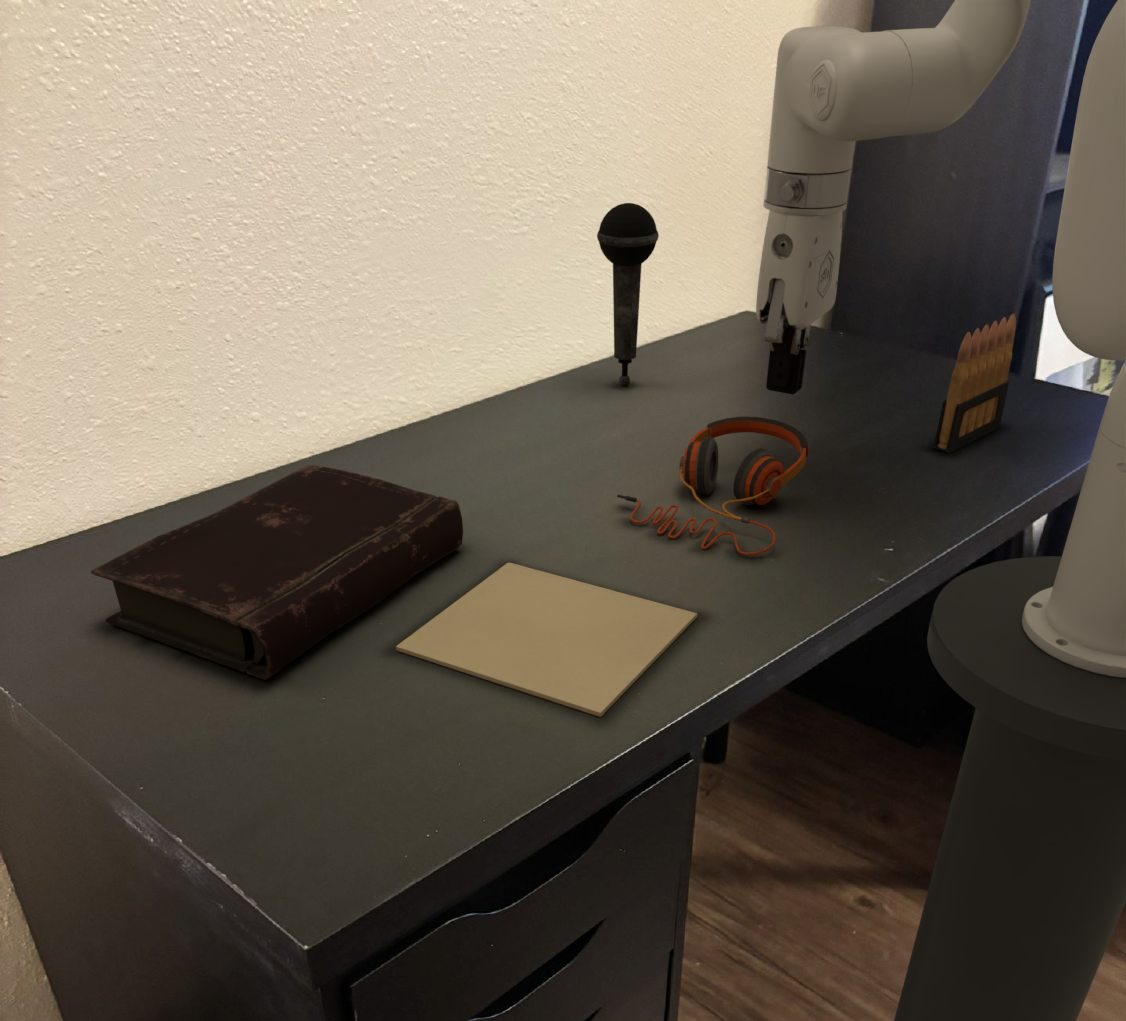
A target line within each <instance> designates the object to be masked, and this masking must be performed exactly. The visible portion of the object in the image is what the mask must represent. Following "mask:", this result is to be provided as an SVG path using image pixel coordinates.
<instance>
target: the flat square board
mask: <svg viewBox="0 0 1126 1021" xmlns="http://www.w3.org/2000/svg"><path fill="white" fill-rule="evenodd" d="M697 618H698V613H697V612H694V611H691V610H686V609H682V608H679V607H676V606H671V605H668V604H665V603H660V602H657V601H653V600H649V599H646V598H642V597H638V596H634V595H631V594H627V593H624V592H620V591H616V590H613V589H609V588H605V587H601V586H597V585H595V584H591V583H587V582H583V581H580V580H575V579H572V578H569V577H564V576H560V575H557V574H554V573H550V572H546V571H542V570H538V569H536V568H531V567H528V566H524V565H520V564H516V563H513V562H506V563H505V564H504V565H502V566H501V567H500V568H499V569H497V570H496V571H495V572H493V573H492V574H490V575H489V576H488V577H486V578H485V579H484V580H483V581H481V582H480V583H478V584H477V585H476V586H474V587H473V588H472V589H470V590H469V591H468V592H466V593H465V594H464V595H463V596H461V597H459V599H458V600H456V601H454V602H453V603H452V604H451V605H449V606H448V607H447V608H445V609H444V610H443V611H440V613H439V614H437V615H435V616H434V617H433V618H431V620H429V621H428V622H427V623H425V624H424V625H422V626H421V627H419V629H416V631H414V632H413V633H412V634H410V635H409V636H408V637H406V638H405V639H403V641H401V642H399V643H398V644H397V645H396V646H395V649H396V651H397V652H400V653H403V654H406V655H409V656H412V657H415V658H418V659H422V660H424V661H427V662H429V663H430V662H431V663H433V664H437V665H439V666H443V667H445V668H449V669H452V670H455V671H457V672H461V673H465V674H467V675H470V676H473V677H476V678H479V679H482V680H486V681H489V682H492V683H495V684H498V685H500V686H504V687H507V688H510V689H513V690H516V691H519V692H522V693H525V694H528V695H531V696H534V697H537V698H541V699H544V700H547V701H550V702H553V703H556V704H559V705H562V706H565V707H567V708H571V709H574V710H576V711H577V710H578V711H581V712H583V713H585V714H586V713H587V714H589V715H593V716H596V717H599V718H601V717H602V716H603V715H605V713H606V712H607V711H609V709H610V708H611V707H612V706H613V705H614V704H615V703H616V702H617V701H618V700H619V699H620V698H621V697H622V696H623V694H625V693H626V692H627V691H628V689H629V688H630V687H631V686H632V685H633V684H634V683H635V682H636V681H637V680H639V678H640V677H641V676H642V675H643V674H644V673H645V672H646V671H647V670H648V669H649V668H650V667H651V666H652V665H653V664H654V663H655V662H656V660H658V659H659V658H660V657H661V655H662V654H663V653H664V652H666V651H667V649H668V648H669V647H670V646H671V645H672V644H673V643H674V642H675V641H676V640H677V639H678V638H679V637H680V636H681V635H682V634H683V632H684V631H686V629H687V628H688V627H690V626H691V625H692V623H693V622H694V621H695V620H697Z"/></svg>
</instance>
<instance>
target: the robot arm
mask: <svg viewBox="0 0 1126 1021" xmlns="http://www.w3.org/2000/svg"><path fill="white" fill-rule="evenodd" d="M1031 2H1032V0H954V1H953V3H952V4H951V6H950V7H949V9H948V10H947V12H946V13H945V15H944V16H943V18H942V19H941V20H940V22H938V24H937V25H936V26H935V27H927V28H926V27H924V28H923V27H921V28H904V29H902V28H901V29H888V30H887V29H886V30H882V31H866V32H862V31H860V30H859V29H856V28H851V27H845V26H829V25H828V26H826V25H825V26H824V25H823V26H822V25H821V26H819V25H817V26H804V27H803V26H802V27H797V28H793V29H791V30H789V31H788V32H786V33H785V34H784V36H783V37H782V39H781V41H780V43H779V46H778V49H777V50H778V51H777V57H776V69H775V78H774V89H773V99H772V111H771V121H770V131H769V143H768V153H767V165H766V173H765V175H766V176H765V183H764V184H765V185H764V195H763V207H764V208H765V209H766V210H768V211H769V212H768V216H767V223H766V228H765V232H764V239H763V245H762V252H761V259H760V265H759V273H758V281H757V291H756V304H755V305H756V306H755V317H756V320H757V321H758V322H759V323H760V324H761V325H765V324H766V325H765V326H766V327H765V332H764V341H765V342H766V343H767V342H768V350H769V354H768V355H769V356H768V365H767V375H766V383H765V384H766V385H765V387H766V390H768V391H771V392H777V393H781V394H787V395H795V394H796V393H798V392H799V391H800V390H801V389H802V388H803V383H804V382H803V381H804V373H805V366H806V358H807V357H806V356H807V347H808V344H809V340H810V335H811V334H810V333H811V328H812V324H814V323H815V322H817V320H819V319H820V318H822V317H823V316H825V315H826V314H827V313H828V312H829V311H831V310H832V309H833V307H834V306H835V303H836V300H837V290H838V282H839V274H840V273H839V271H840V262H841V249H842V236H843V212H844V211H846V210H847V207H848V206H847V205H848V200H849V193H850V186H851V178H852V177H851V176H852V172H853V171H852V170H853V162H854V155H855V147H856V142H860V141H868V140H877V139H883V138H893V137H900V136H901V137H902V136H912V135H913V136H914V135H925V134H931V133H936V132H939V131H942V130H943V129H945V128H948V127H949V126H952V125H953V124H954V123H955V122H957V121H958V120H960V118H962V117H963V116H964V115H965V114H967V112H968V111H969V110H970V109H971V108H972V106H974V105H975V103H976V102H978V99H979V98H980V97H981V96H982V95H983V93H985V91H986V89H988V87H989V86H990V84H991V83H992V81H993V80H994V79H995V78H996V76H997V75H998V73H999V72H1000V70H1002V68H1003V66H1004V65H1005V64H1006V62H1007V60H1009V58H1010V56H1012V53H1013V52H1014V50H1015V48H1016V46H1017V44H1018V42H1019V40H1020V38H1021V35H1022V33H1023V31H1024V28H1025V26H1026V25H1025V24H1026V21H1027V17H1028V14H1029V9H1030V5H1031ZM1051 280H1052V281H1051V283H1052V284H1051V285H1052V288H1051V289H1052V300H1053V307H1054V311H1055V315H1056V318H1057V321H1058V323H1059V326H1060V328H1061V330H1062V332H1063V333H1064V335H1065V336H1066V338H1067V339H1068V340H1069V342H1070V343H1071V344H1072V345H1073V346H1074V347H1076V348H1077V350H1079V351H1080V352H1083V353H1084V354H1087V355H1088V356H1091V357H1093V358H1096V359H1099V360H1100V359H1101V360H1105V361H1124V363H1123V365H1122V366H1121V368H1120V371H1119V373H1118V375H1117V377H1116V379H1115V381H1114V383H1113V386H1112V388H1111V391H1110V393H1109V396H1108V399H1107V402H1106V404H1105V407H1104V411H1103V414H1102V418H1101V421H1100V424H1099V427H1098V431H1097V434H1096V437H1095V440H1094V444H1093V447H1092V452H1091V455H1090V457H1089V462H1088V465H1087V468H1086V472H1085V475H1084V479H1083V482H1082V485H1081V489H1080V492H1079V496H1078V500H1077V503H1076V507H1075V509H1074V514H1073V516H1072V520H1071V524H1070V527H1069V531H1068V534H1067V536H1066V541H1065V545H1064V548H1063V551H1062V555H1061V557H1062V558H1061V561H1060V565H1059V568H1058V572H1057V575H1056V579H1055V582H1054V585H1053V587H1051V588H1048V589H1045V590H1042V591H1040V592H1038V593H1037V594H1035V595H1033V596H1032V597H1031V598H1030V599H1029V600H1028V601H1027V603H1026V606H1025V608H1024V612H1023V616H1022V625H1023V629H1024V631H1025V632H1026V634H1027V636H1028V637H1029V638H1030V639H1031V640H1032V641H1033V642H1034V643H1035V644H1036V645H1037V646H1038V647H1039V648H1040V649H1042V650H1043V651H1045V652H1046V653H1047V654H1049V655H1051V656H1052V657H1054V658H1056V659H1058V660H1060V661H1062V662H1064V663H1067V664H1069V665H1071V666H1074V667H1076V668H1079V669H1083V670H1086V671H1089V672H1092V673H1096V674H1101V675H1106V676H1111V677H1118V678H1126V0H1117V1H1116V2H1115V3H1114V5H1113V7H1112V8H1111V10H1110V11H1109V13H1108V15H1107V16H1106V18H1105V20H1104V21H1103V24H1102V26H1101V28H1100V29H1099V32H1098V34H1097V36H1096V38H1095V40H1094V42H1093V45H1092V48H1091V51H1090V54H1089V56H1088V60H1087V63H1086V66H1085V70H1084V74H1083V78H1082V84H1081V87H1080V94H1079V99H1078V104H1077V110H1076V116H1075V122H1074V128H1073V134H1072V141H1071V147H1070V153H1069V158H1068V165H1067V172H1066V177H1065V184H1064V190H1063V197H1062V201H1061V209H1060V215H1059V222H1058V226H1057V233H1056V240H1055V247H1054V254H1053V263H1052V277H1051Z"/></svg>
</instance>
